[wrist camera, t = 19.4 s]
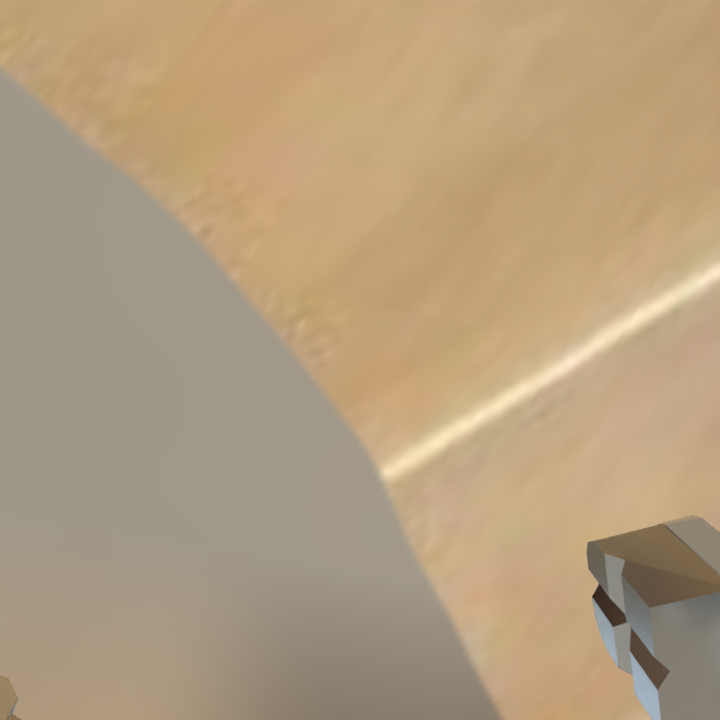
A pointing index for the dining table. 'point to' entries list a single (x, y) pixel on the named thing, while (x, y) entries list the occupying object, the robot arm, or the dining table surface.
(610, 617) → the robot arm
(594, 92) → the dining table surface
